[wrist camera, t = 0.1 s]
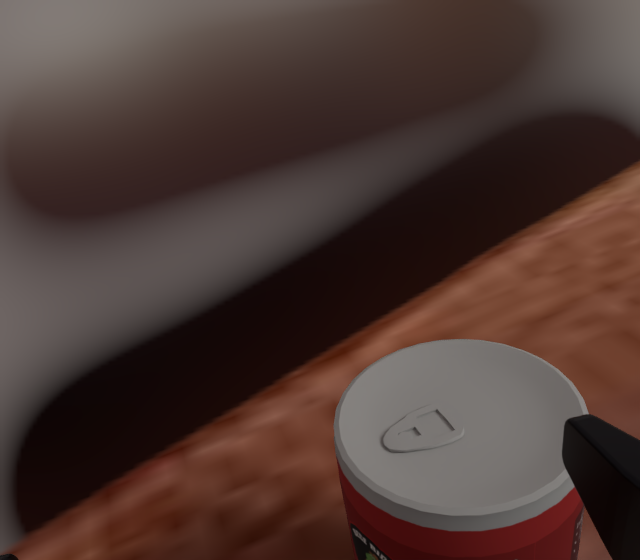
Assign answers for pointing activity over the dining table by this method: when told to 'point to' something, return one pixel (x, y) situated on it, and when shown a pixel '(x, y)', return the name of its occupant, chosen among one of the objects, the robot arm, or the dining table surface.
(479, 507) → the canned food
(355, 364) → the dining table surface
